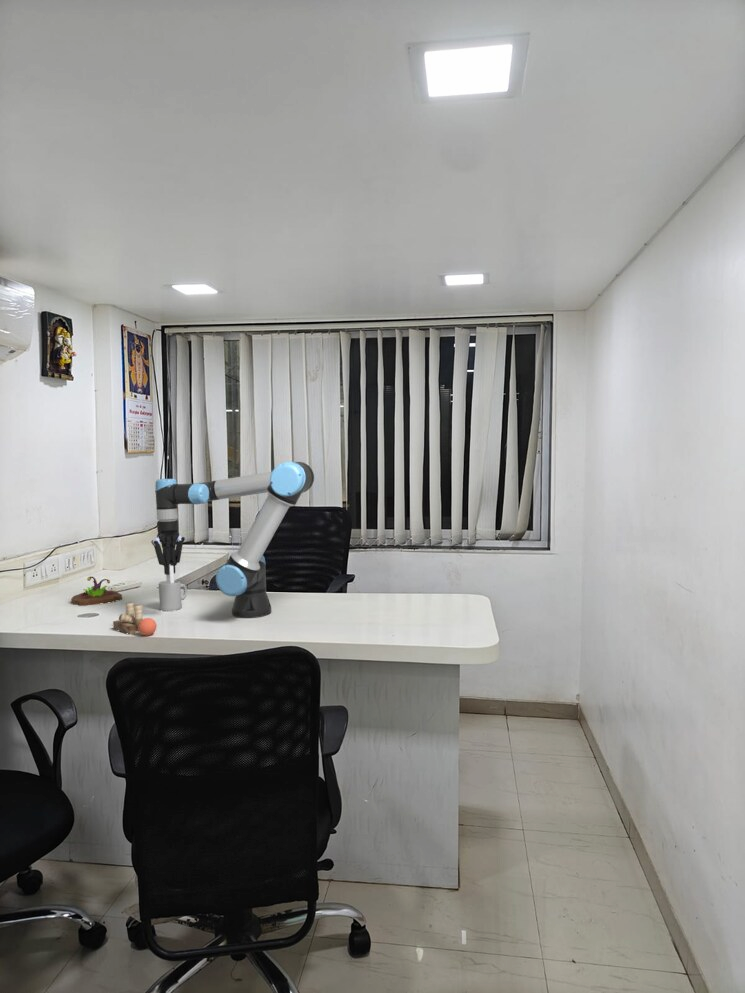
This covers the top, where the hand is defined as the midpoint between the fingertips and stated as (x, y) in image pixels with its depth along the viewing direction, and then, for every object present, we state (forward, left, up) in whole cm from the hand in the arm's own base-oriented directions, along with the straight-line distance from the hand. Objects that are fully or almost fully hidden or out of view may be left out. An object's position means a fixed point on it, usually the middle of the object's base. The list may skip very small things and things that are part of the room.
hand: (170, 582), depth 245 cm
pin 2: (-3, +15, -14) cm, 21 cm away
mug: (+18, -12, -15) cm, 26 cm away
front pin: (0, +12, -13) cm, 18 cm away
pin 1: (+3, +15, -14) cm, 21 cm away
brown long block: (0, +19, -14) cm, 24 cm away
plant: (+61, 0, -15) cm, 63 cm away
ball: (-11, +16, -11) cm, 23 cm away
